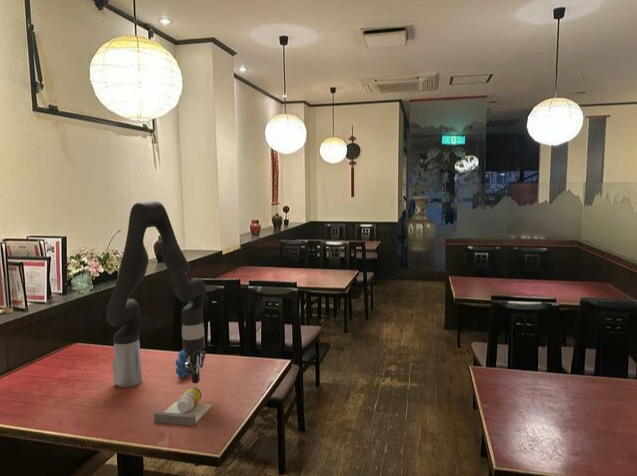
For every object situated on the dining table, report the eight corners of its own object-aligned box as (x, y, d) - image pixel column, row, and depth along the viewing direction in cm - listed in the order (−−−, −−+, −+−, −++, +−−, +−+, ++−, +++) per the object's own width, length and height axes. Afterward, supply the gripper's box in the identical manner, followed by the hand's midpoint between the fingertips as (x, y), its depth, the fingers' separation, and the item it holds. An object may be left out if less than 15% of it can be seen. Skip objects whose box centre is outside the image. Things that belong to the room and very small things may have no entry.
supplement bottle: (195, 404, 160) (183, 418, 150) (184, 394, 160) (171, 406, 150) (205, 394, 159) (193, 407, 149) (193, 383, 159) (181, 395, 149)
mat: (154, 421, 147) (153, 413, 147) (175, 402, 160) (175, 395, 160) (193, 425, 144) (192, 417, 144) (211, 406, 157) (211, 398, 157)
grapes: (184, 369, 190) (183, 341, 188) (198, 370, 188) (197, 343, 187) (168, 380, 179) (166, 351, 177) (183, 382, 177) (181, 353, 175)
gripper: (192, 329, 165) (195, 374, 167) (173, 341, 152) (176, 390, 154) (211, 329, 164) (213, 375, 165) (194, 342, 151) (196, 391, 153)
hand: (195, 382), depth 160 cm, fingers closed
